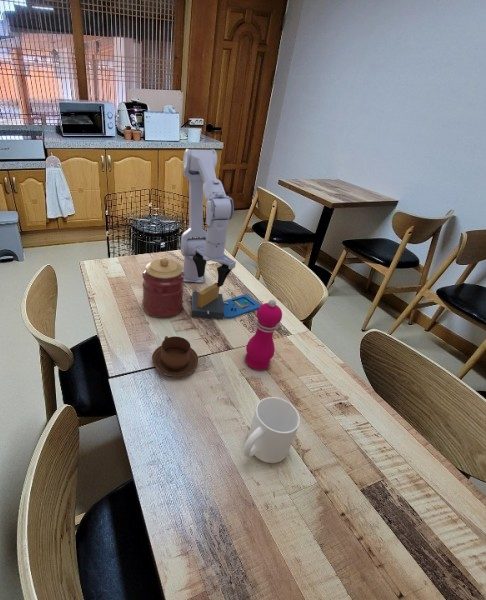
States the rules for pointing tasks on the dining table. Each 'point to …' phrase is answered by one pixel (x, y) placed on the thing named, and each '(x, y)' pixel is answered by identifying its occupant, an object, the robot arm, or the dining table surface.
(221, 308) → the frame stand
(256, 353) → the pepper mill
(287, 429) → the mug
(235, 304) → the handheld gaming device
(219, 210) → the robot arm
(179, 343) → the cup and saucer
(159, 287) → the kitchen canister
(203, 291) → the tan rectangular block
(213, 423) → the dining table surface
